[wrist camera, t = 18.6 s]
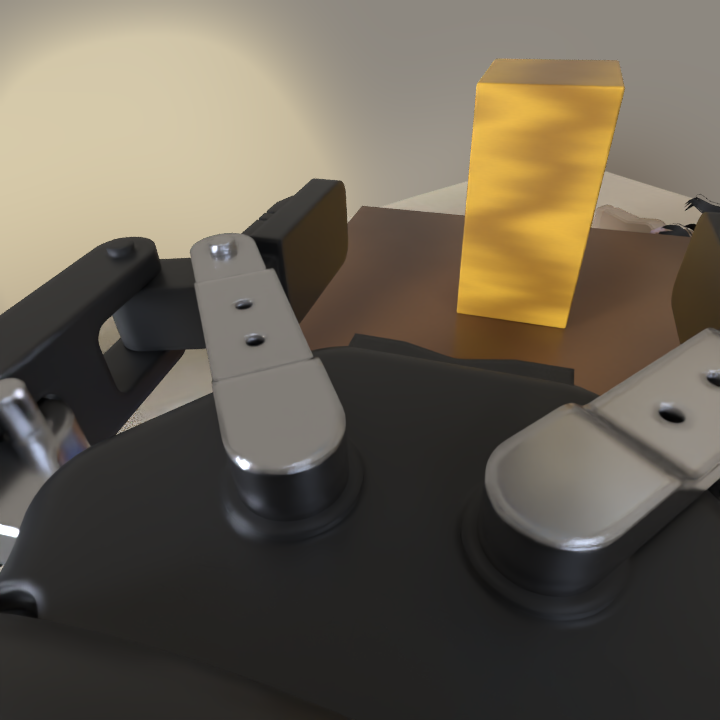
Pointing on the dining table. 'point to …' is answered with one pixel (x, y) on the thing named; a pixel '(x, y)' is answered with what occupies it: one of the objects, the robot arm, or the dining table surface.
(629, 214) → the toy figure
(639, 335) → the board
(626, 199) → the dining table surface
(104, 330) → the dining table surface
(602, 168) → the block
